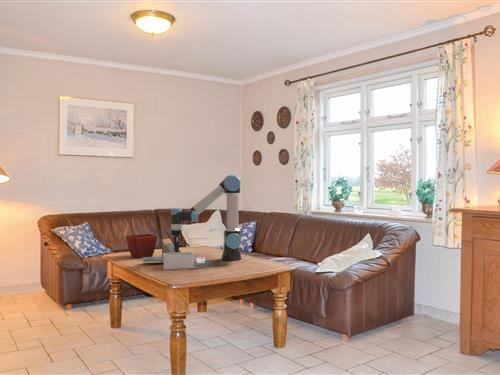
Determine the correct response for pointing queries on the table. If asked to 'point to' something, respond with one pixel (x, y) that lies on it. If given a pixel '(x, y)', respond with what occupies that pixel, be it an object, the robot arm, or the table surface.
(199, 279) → the table surface
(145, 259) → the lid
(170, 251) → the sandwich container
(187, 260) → the tub
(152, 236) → the plant pot
